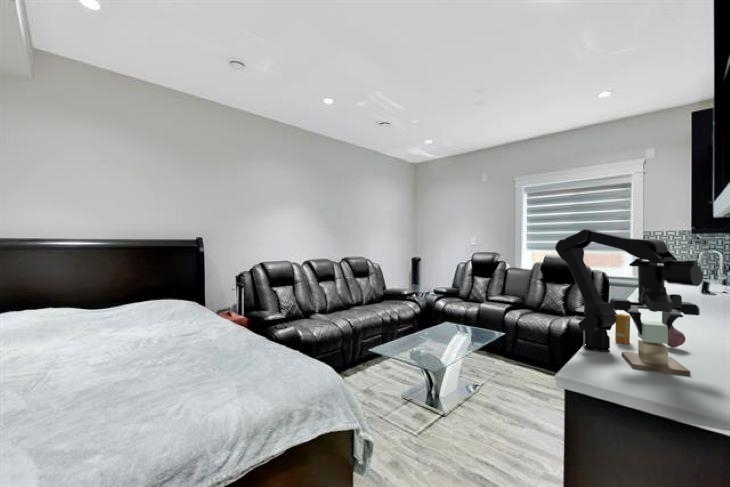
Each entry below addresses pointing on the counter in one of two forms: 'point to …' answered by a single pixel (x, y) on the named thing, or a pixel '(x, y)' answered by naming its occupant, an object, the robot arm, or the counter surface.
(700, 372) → the counter surface
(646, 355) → the beech brick
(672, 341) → the vegetable
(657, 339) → the sage green brick
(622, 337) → the supplement box
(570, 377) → the counter surface
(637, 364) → the walnut baseboard
